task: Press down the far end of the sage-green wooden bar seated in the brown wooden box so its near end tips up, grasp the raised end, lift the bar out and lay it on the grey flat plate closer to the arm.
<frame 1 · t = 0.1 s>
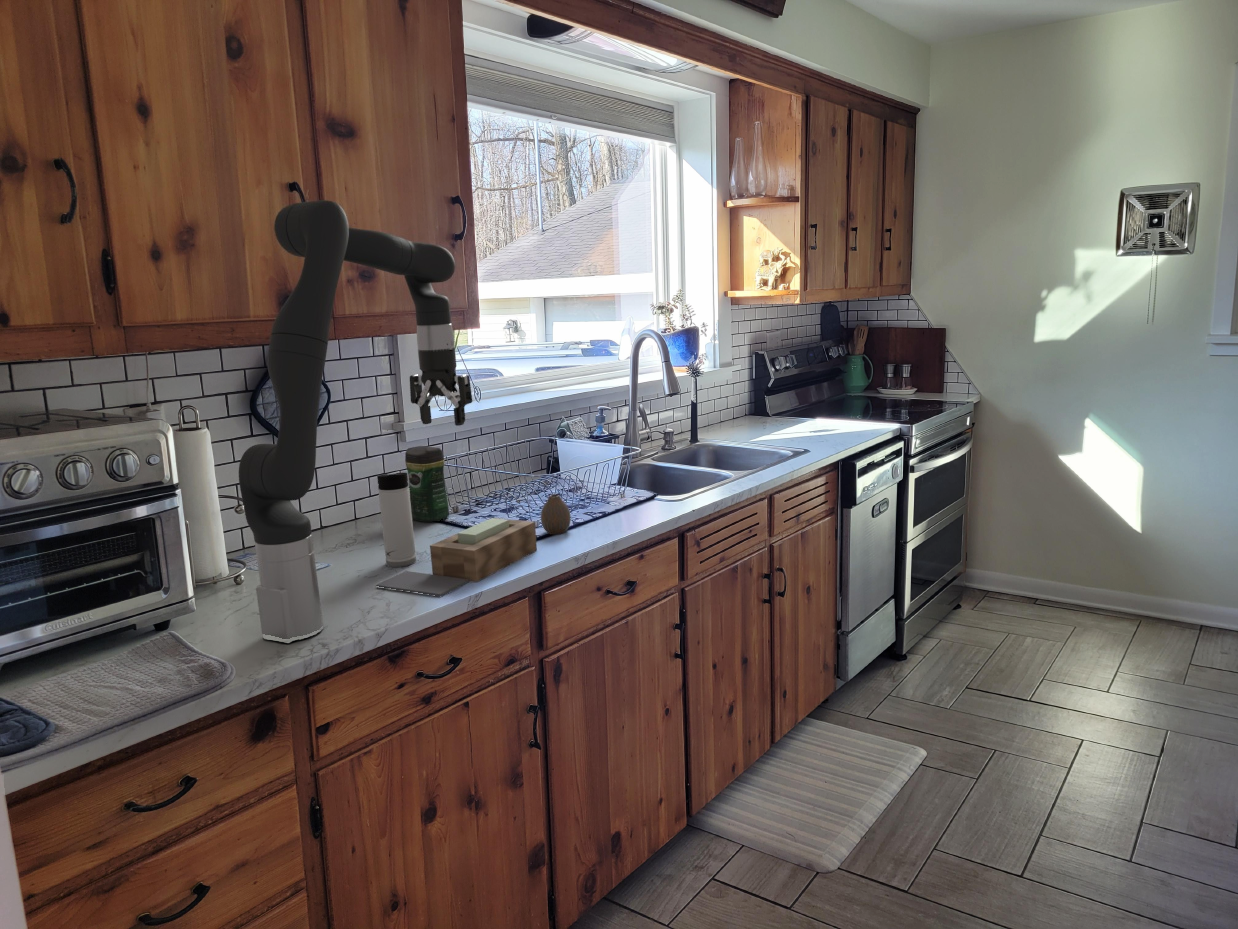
hand: (443, 424, 193), 29 cm above the worktop, tool pointing down, fingers open, 8 cm apart
coffee jar: (430, 519, 232), on the worktop
brown wooden box: (486, 563, 193), on the worktop
grey flat plate: (422, 585, 181), on the worktop
travel mug: (401, 563, 197), on the worktop
vase: (556, 533, 214), on the worktop
block: (485, 544, 193), point 4 cm above the worktop, touching brown wooden box
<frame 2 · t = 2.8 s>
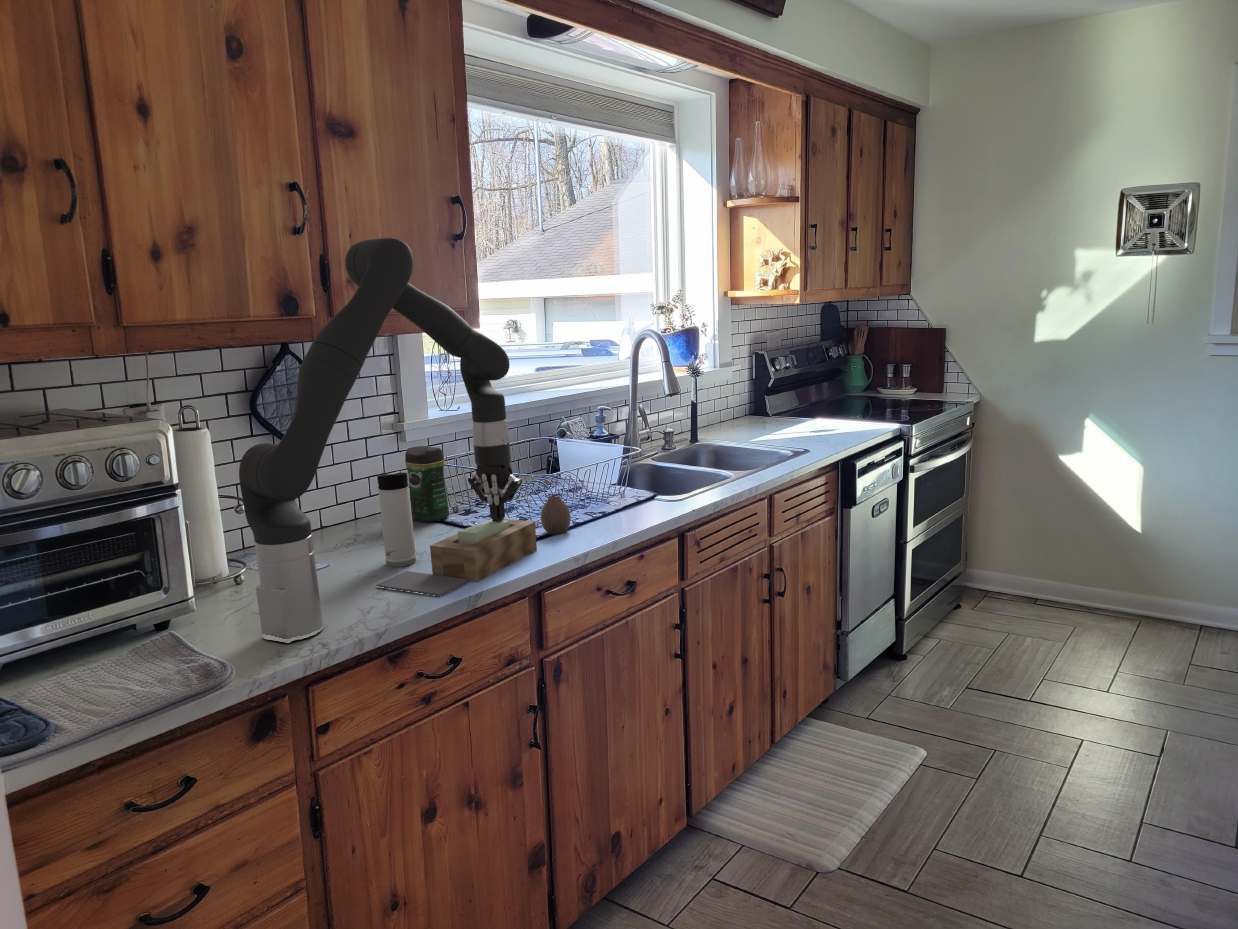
hand: (498, 520, 196), 8 cm above the worktop, tool pointing down, fingers closed
block: (485, 544, 193), point 4 cm above the worktop, touching gripper, brown wooden box
everything else where it was.
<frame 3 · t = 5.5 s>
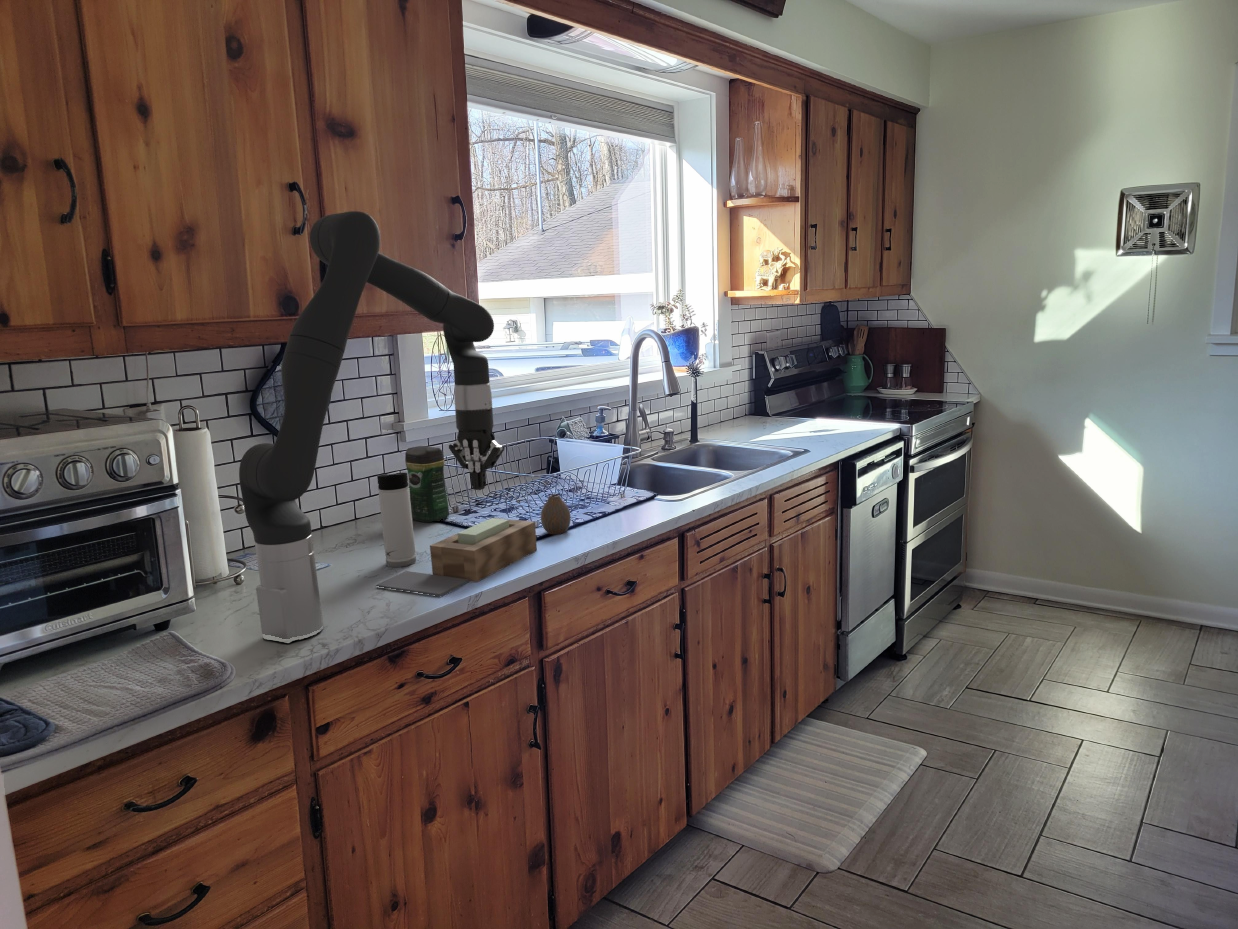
hand: (479, 489, 190), 16 cm above the worktop, tool pointing down, fingers closed
block: (485, 544, 193), point 4 cm above the worktop, touching brown wooden box
everything else where it was.
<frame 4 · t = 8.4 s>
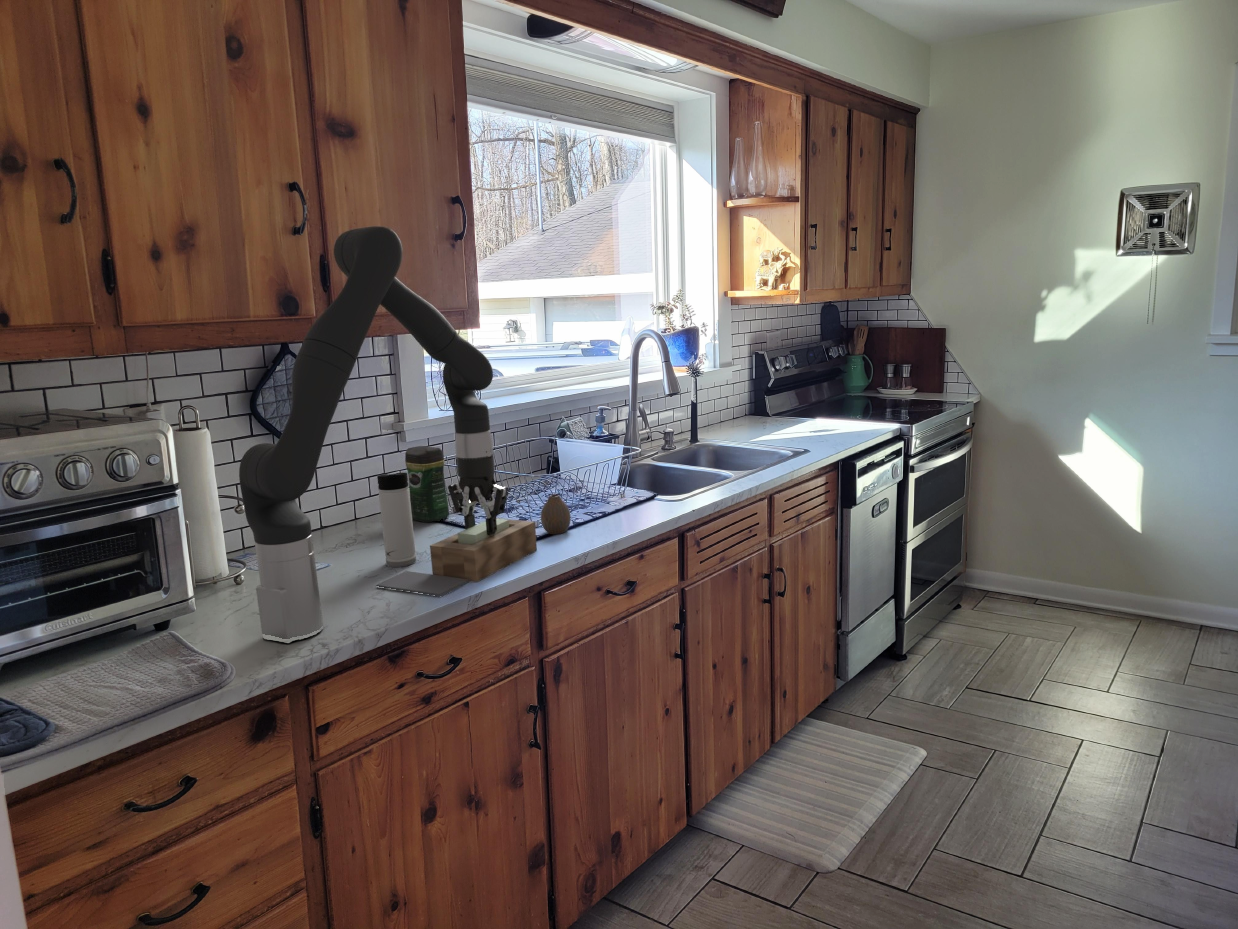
hand: (481, 533, 191), 7 cm above the worktop, tool pointing down, fingers closed on block, 4 cm apart
block: (485, 544, 193), point 4 cm above the worktop, touching gripper, brown wooden box
everything else where it was.
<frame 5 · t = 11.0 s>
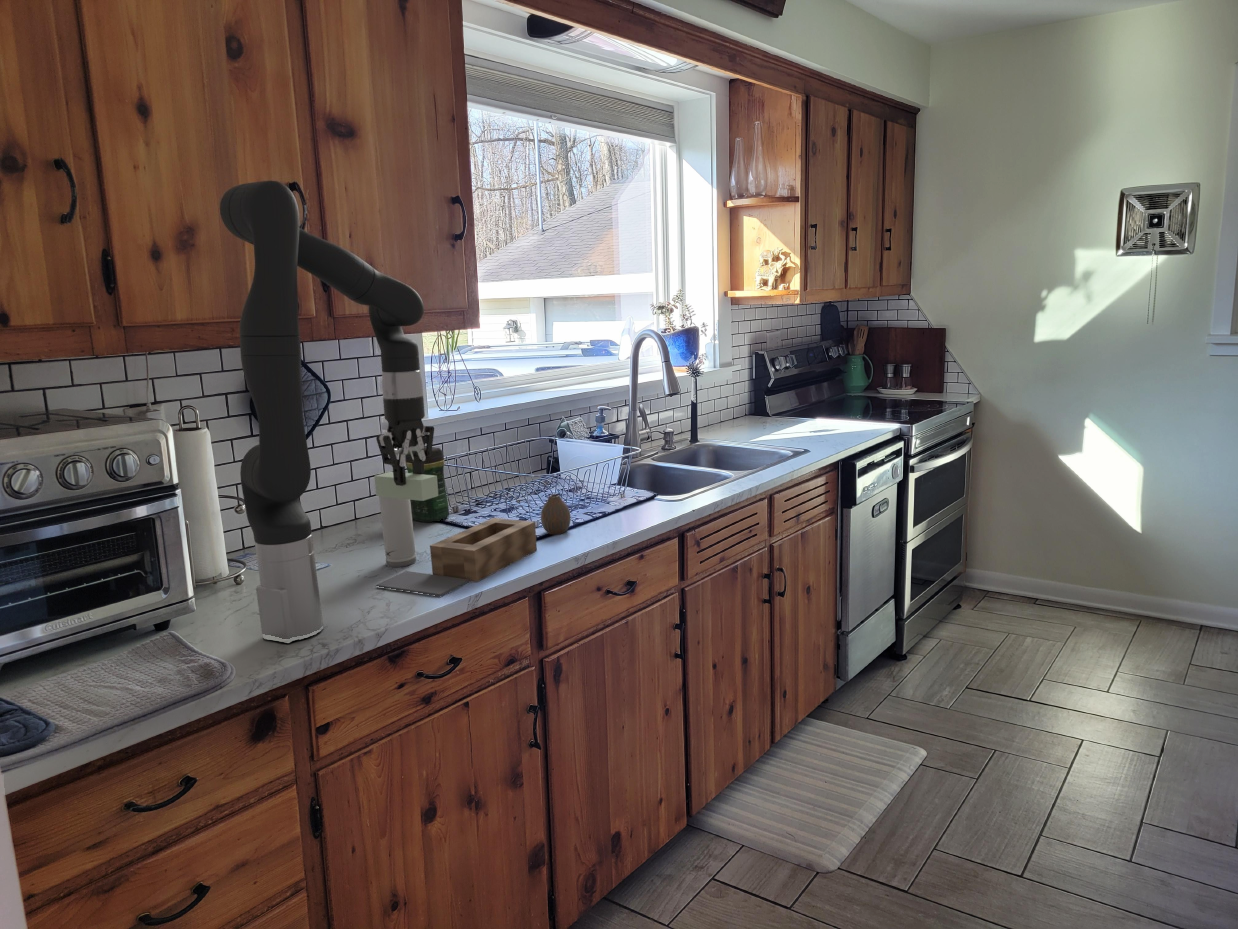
hand: (410, 482, 178), 21 cm above the worktop, tool pointing down, fingers closed on block, 4 cm apart
block: (407, 495, 179), point 18 cm above the worktop, touching gripper
everything else where it was.
when the fingers open (8 cm above the worktop, at t = 14.1 s): block drops 5 cm, resting on grey flat plate.
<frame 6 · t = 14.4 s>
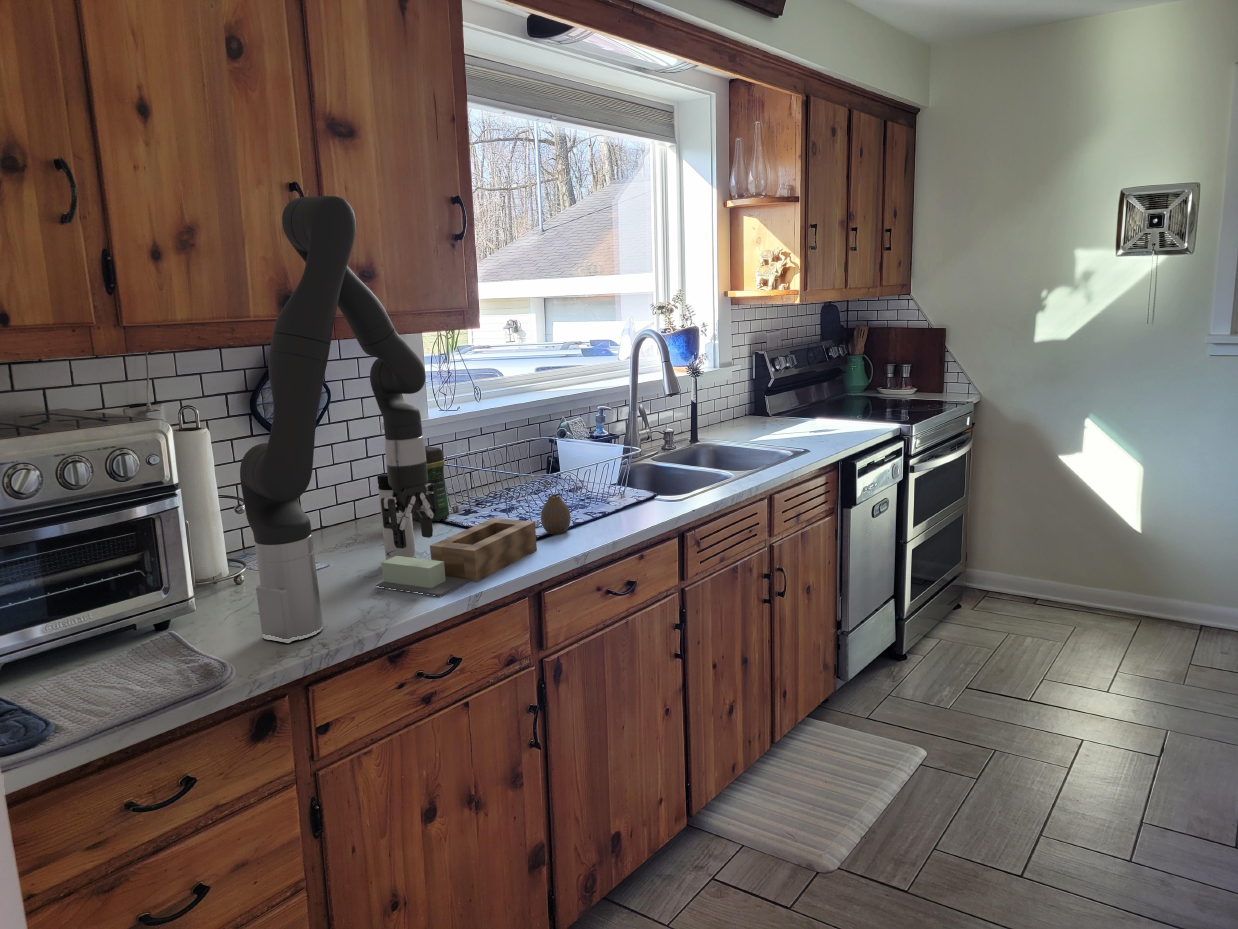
hand: (414, 542, 180), 9 cm above the worktop, tool pointing down, fingers open, 7 cm apart
block: (414, 581, 182), point 1 cm above the worktop, touching grey flat plate
everything else where it was.
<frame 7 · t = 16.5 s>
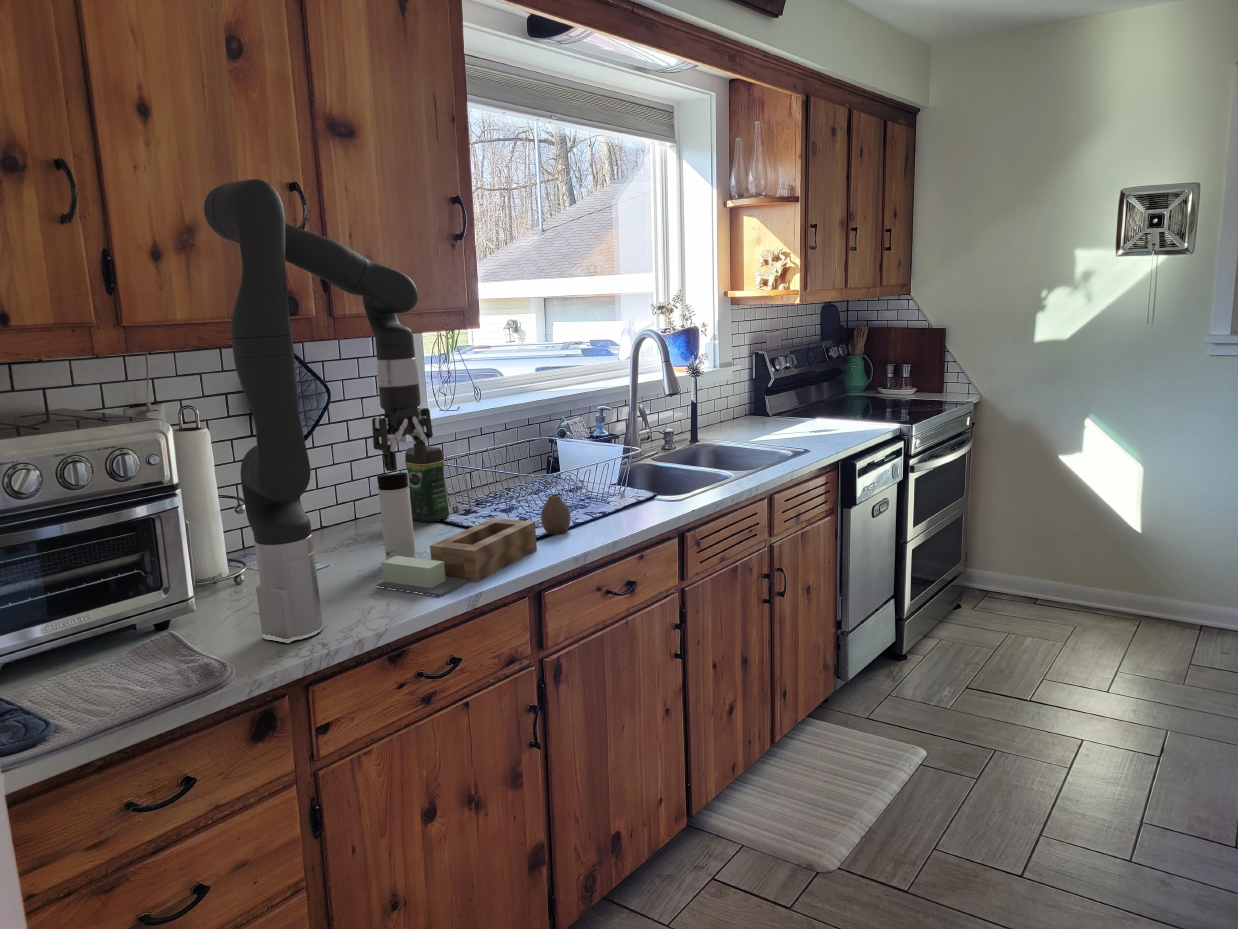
hand: (406, 466, 177), 24 cm above the worktop, tool pointing down, fingers open, 8 cm apart
nothing on the worktop moved.
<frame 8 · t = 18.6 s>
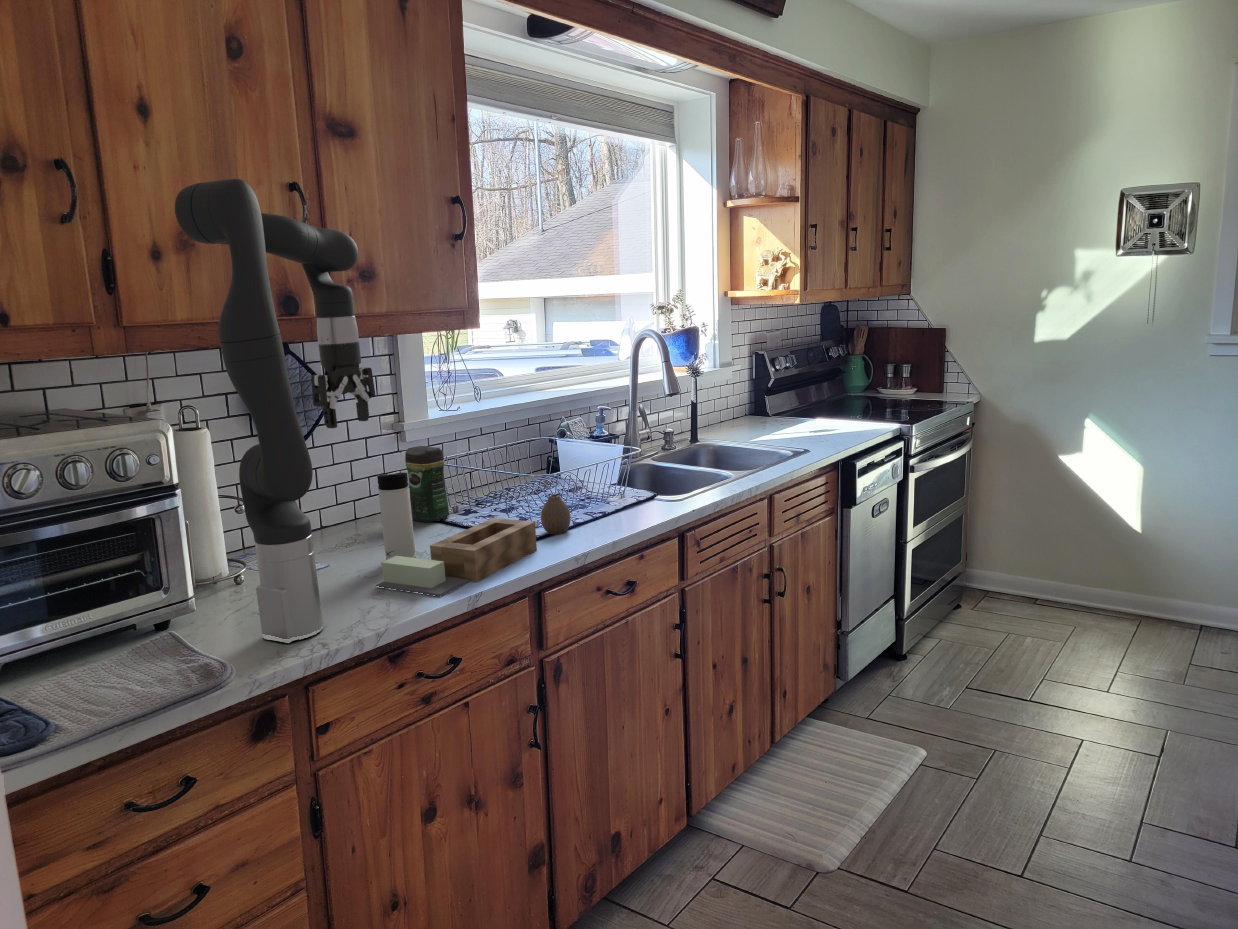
hand: (348, 424, 179), 32 cm above the worktop, tool pointing down, fingers open, 8 cm apart
nothing on the worktop moved.
at the end: block inside the target area (1.9 cm from its centre), point 0.6 cm above the worktop; block touching grey flat plate; the gripper is holding nothing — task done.
